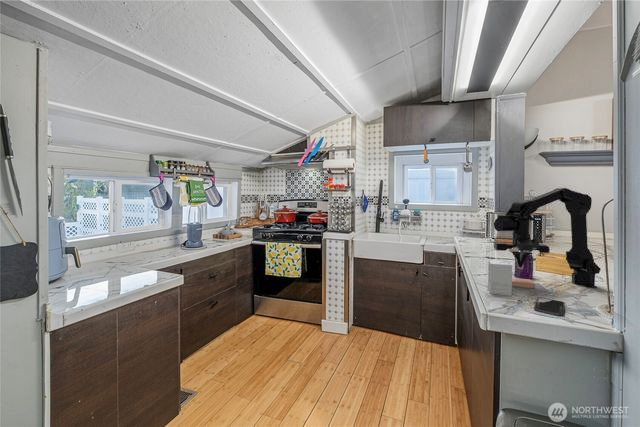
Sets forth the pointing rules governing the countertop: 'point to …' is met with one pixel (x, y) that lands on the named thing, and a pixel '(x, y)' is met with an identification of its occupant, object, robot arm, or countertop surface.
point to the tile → (522, 283)
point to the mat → (537, 288)
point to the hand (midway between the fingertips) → (519, 267)
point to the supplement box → (500, 277)
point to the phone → (550, 307)
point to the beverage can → (525, 268)
